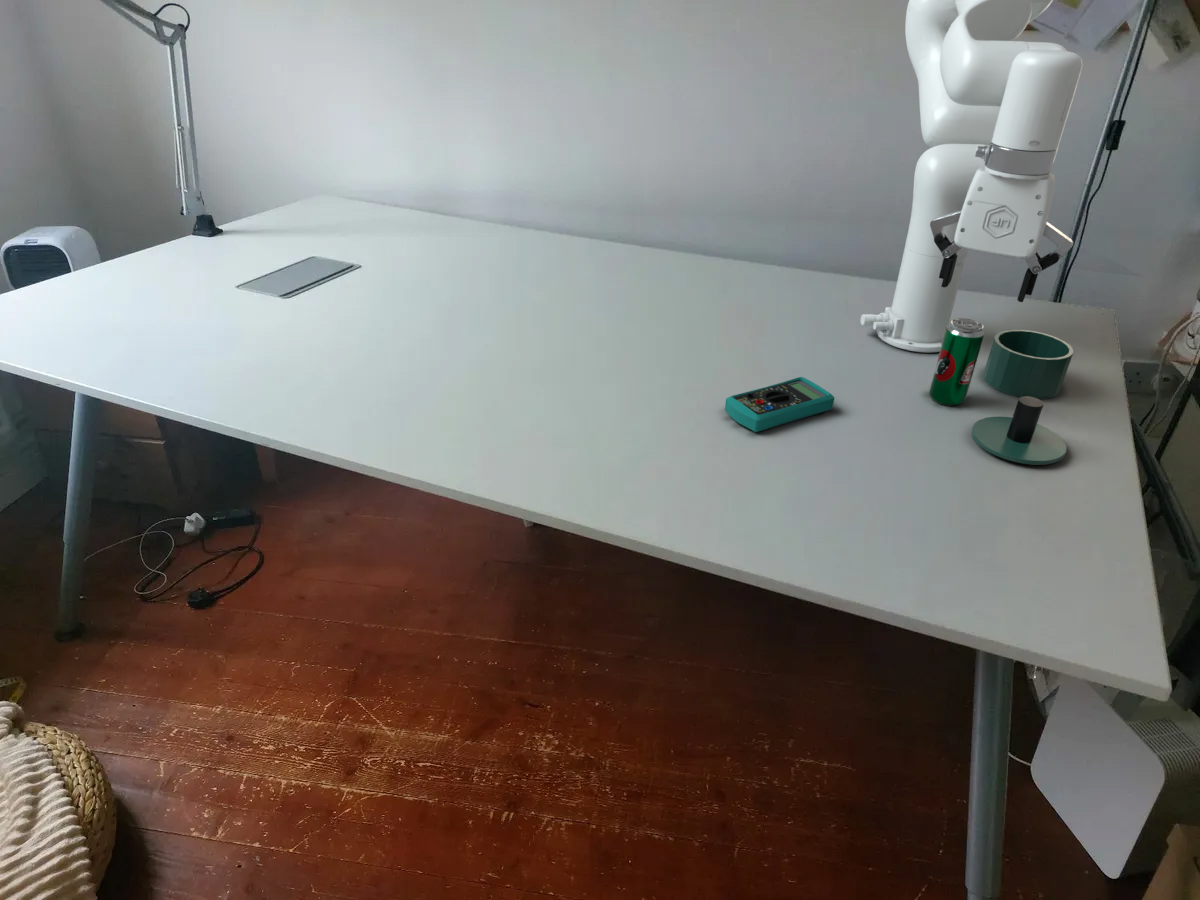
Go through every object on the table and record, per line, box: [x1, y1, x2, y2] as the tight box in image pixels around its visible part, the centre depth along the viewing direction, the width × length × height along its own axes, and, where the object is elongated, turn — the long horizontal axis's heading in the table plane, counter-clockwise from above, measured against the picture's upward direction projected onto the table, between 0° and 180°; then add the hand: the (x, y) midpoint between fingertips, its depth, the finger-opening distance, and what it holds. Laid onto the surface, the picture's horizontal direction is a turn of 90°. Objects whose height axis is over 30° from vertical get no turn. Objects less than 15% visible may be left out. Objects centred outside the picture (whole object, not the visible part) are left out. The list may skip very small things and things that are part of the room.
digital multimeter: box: [724, 376, 835, 433], centre depth 114 cm, size 7×15×3 cm, turn 119°
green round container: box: [982, 329, 1075, 400], centre depth 122 cm, size 11×11×6 cm
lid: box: [971, 396, 1068, 466], centre depth 106 cm, size 12×12×7 cm
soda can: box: [928, 317, 985, 407], centre depth 116 cm, size 5×5×12 cm
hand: (982, 291), depth 109 cm, fingers open, 9 cm apart
